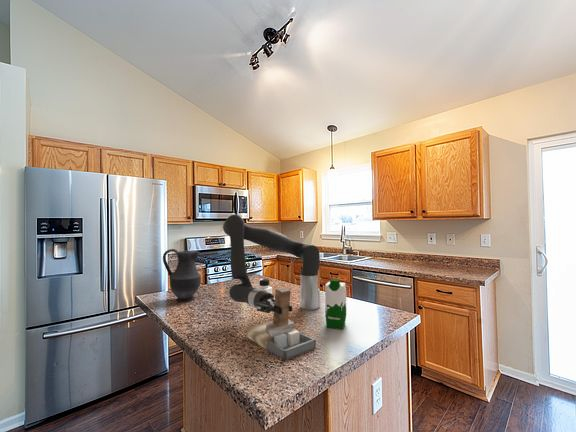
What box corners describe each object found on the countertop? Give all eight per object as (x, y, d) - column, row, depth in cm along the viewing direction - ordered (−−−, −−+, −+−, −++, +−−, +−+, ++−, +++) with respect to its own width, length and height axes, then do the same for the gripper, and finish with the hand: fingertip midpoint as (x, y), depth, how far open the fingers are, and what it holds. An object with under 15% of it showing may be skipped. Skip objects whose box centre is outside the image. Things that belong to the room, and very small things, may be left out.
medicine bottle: (272, 299, 158) (272, 278, 159) (266, 302, 152) (266, 280, 152) (262, 297, 161) (262, 277, 162) (255, 300, 155) (255, 279, 155)
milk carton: (323, 328, 113) (323, 280, 114) (327, 320, 122) (327, 276, 123) (345, 330, 111) (344, 281, 111) (347, 323, 119) (347, 277, 120)
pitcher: (200, 302, 151) (200, 249, 152) (159, 306, 145) (160, 250, 146) (201, 295, 168) (201, 247, 169) (164, 298, 162) (165, 248, 163)
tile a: (287, 332, 98) (290, 334, 96) (295, 330, 100) (299, 331, 98) (287, 344, 97) (291, 345, 96) (295, 341, 100) (299, 342, 98)
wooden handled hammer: (265, 332, 98) (268, 289, 97) (287, 325, 105) (290, 285, 103) (271, 337, 95) (275, 293, 94) (293, 330, 101) (296, 289, 100)
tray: (267, 350, 94) (267, 341, 94) (297, 339, 103) (297, 331, 103) (284, 360, 86) (284, 351, 86) (315, 348, 95) (315, 339, 95)
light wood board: (246, 336, 105) (246, 327, 105) (275, 328, 114) (275, 319, 114) (266, 349, 94) (266, 339, 94) (297, 338, 103) (297, 329, 103)
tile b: (274, 336, 95) (277, 337, 93) (283, 333, 97) (286, 334, 96) (274, 348, 94) (278, 349, 93) (283, 345, 97) (287, 346, 95)
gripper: (245, 293, 106) (270, 303, 92) (274, 287, 115) (301, 296, 101) (245, 312, 106) (270, 325, 92) (274, 305, 115) (301, 316, 101)
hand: (286, 310), depth 97 cm, fingers closed on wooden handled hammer, 4 cm apart
